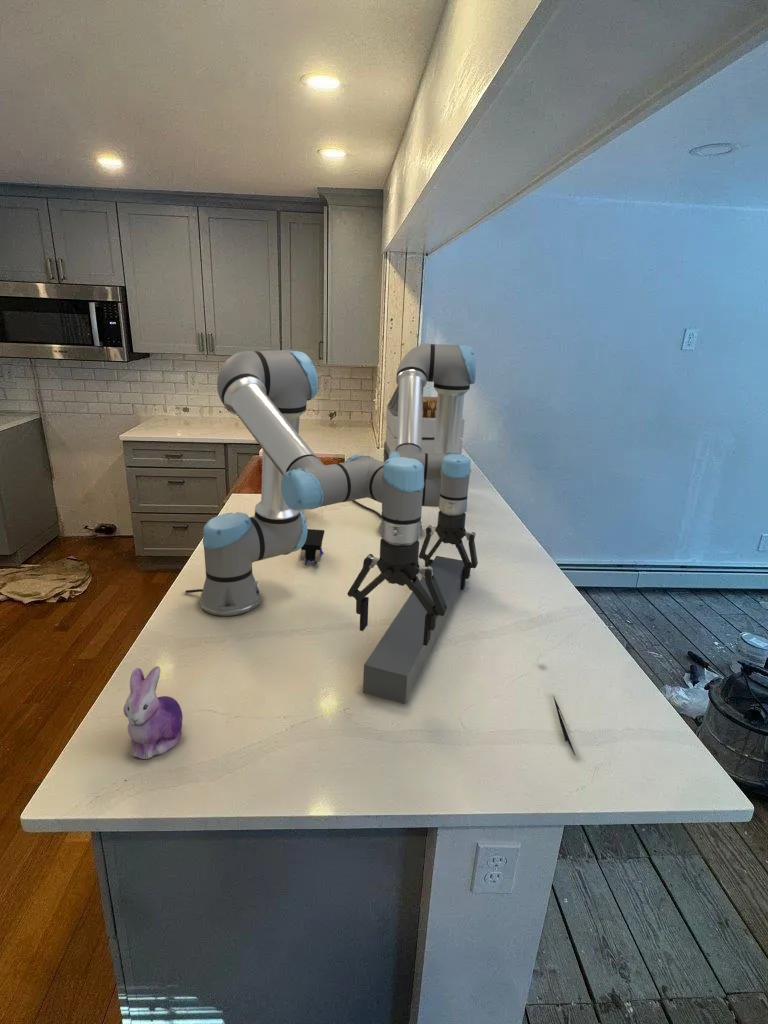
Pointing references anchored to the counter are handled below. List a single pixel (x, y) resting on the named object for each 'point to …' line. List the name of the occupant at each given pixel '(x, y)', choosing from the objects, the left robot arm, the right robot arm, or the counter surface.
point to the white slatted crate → (427, 425)
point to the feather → (563, 726)
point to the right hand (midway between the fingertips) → (445, 584)
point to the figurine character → (312, 546)
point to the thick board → (410, 638)
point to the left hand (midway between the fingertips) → (394, 634)
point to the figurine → (151, 716)
